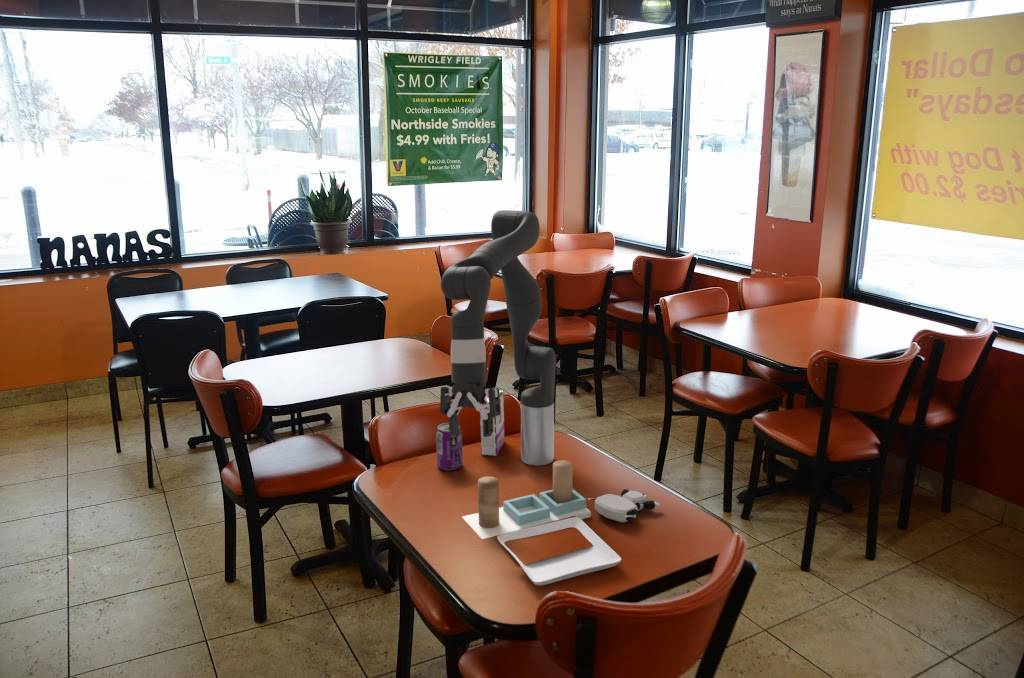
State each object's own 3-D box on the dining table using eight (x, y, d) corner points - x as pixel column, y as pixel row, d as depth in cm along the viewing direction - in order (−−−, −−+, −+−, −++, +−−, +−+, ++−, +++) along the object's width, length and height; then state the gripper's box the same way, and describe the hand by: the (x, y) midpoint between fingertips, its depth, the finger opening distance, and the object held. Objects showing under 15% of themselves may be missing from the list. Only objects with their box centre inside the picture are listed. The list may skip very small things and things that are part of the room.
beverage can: (461, 472, 224) (460, 431, 221) (436, 472, 224) (434, 431, 221) (463, 461, 231) (462, 421, 228) (438, 461, 231) (437, 422, 228)
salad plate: (534, 596, 167) (534, 581, 166) (495, 547, 186) (495, 534, 185) (623, 572, 175) (624, 558, 174) (577, 528, 194) (577, 515, 193)
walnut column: (475, 521, 194) (474, 478, 191) (493, 516, 196) (493, 474, 193) (484, 530, 190) (483, 487, 187) (502, 525, 192) (501, 482, 189)
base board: (461, 522, 197) (460, 474, 193) (566, 496, 209) (566, 451, 206) (482, 545, 186) (481, 495, 183) (590, 516, 199) (591, 469, 195)
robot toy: (624, 498, 210) (584, 513, 200) (626, 482, 209) (585, 496, 199) (662, 515, 201) (622, 532, 191) (664, 498, 200) (624, 514, 190)
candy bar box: (488, 440, 245) (487, 389, 241) (505, 441, 244) (504, 390, 240) (480, 455, 235) (478, 402, 230) (496, 456, 234) (495, 403, 229)
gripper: (505, 359, 174) (508, 434, 174) (451, 358, 181) (454, 430, 182) (486, 362, 167) (488, 440, 168) (431, 361, 175) (433, 436, 176)
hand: (470, 435), depth 175 cm, fingers open, 8 cm apart
